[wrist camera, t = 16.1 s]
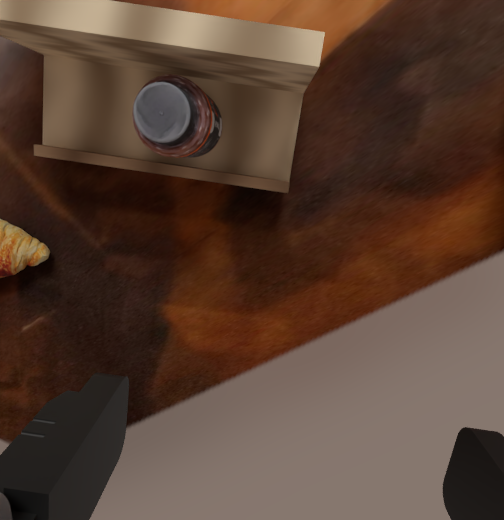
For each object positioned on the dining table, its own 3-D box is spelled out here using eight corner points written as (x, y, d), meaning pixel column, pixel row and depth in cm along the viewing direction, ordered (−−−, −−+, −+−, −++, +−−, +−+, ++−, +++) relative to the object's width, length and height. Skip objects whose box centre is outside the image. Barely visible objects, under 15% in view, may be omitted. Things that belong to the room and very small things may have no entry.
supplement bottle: (235, 113, 39) (222, 97, 28) (204, 169, 40) (179, 175, 29) (179, 77, 38) (143, 47, 27) (149, 136, 39) (103, 129, 28)
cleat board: (303, 77, 41) (324, 32, 26) (285, 188, 44) (295, 207, 29) (65, 42, 41) (-57, -25, 26) (62, 155, 44) (-50, 156, 29)
